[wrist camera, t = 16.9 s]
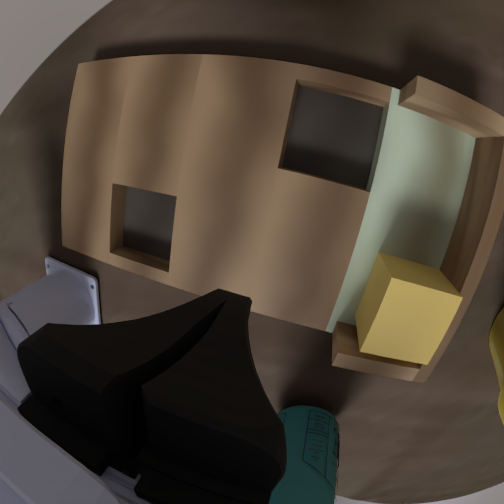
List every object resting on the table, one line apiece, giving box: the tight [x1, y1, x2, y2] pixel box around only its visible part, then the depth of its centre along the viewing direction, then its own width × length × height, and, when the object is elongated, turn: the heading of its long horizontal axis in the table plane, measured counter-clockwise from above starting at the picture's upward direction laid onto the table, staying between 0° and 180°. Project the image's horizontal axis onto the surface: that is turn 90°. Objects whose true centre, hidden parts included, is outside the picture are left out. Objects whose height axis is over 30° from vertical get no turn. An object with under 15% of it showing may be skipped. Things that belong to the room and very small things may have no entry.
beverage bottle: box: [269, 405, 340, 504], centre depth 15 cm, size 6×7×20 cm
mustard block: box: [355, 252, 463, 365], centre depth 15 cm, size 4×4×4 cm
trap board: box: [61, 54, 504, 383], centre depth 17 cm, size 30×16×6 cm, turn 79°
